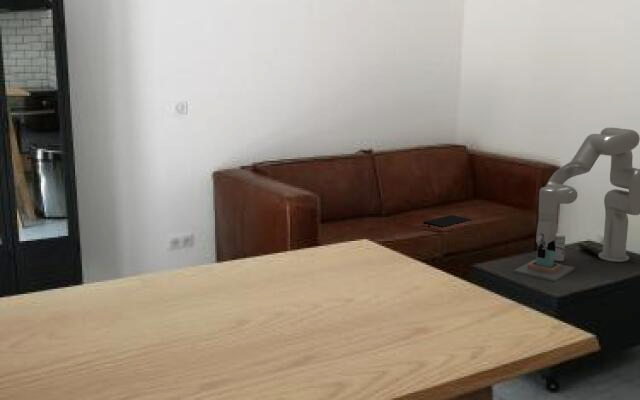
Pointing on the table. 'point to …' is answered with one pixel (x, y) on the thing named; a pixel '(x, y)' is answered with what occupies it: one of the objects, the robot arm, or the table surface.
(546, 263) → the block
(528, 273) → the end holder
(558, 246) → the ink box
